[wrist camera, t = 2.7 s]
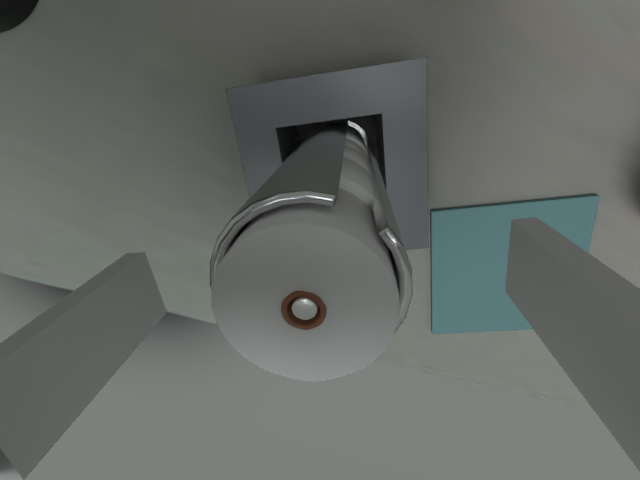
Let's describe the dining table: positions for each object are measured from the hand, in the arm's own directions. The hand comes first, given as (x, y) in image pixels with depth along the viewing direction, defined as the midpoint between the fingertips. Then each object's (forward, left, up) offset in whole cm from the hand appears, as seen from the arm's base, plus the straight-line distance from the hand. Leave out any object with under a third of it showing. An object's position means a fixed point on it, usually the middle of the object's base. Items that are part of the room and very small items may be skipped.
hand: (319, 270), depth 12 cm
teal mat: (+14, +16, -22) cm, 31 cm away
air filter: (0, 0, -23) cm, 23 cm away
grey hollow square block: (0, 0, -22) cm, 22 cm away
